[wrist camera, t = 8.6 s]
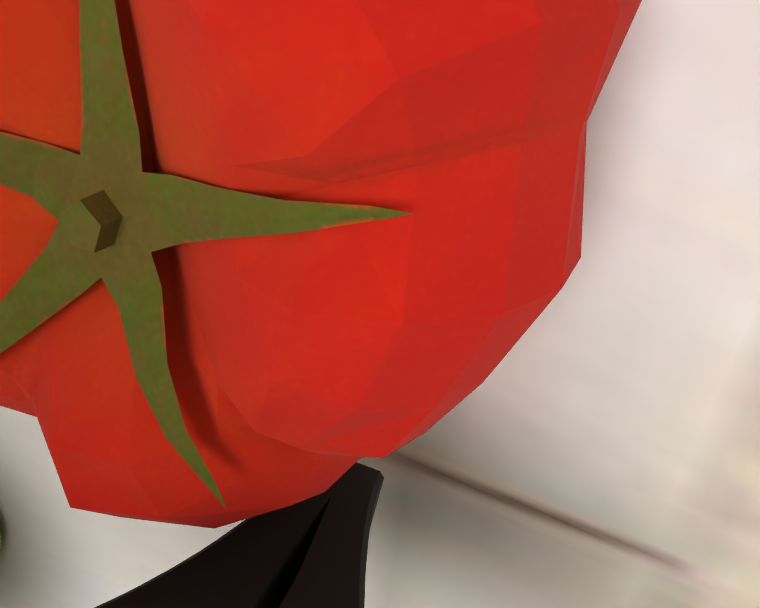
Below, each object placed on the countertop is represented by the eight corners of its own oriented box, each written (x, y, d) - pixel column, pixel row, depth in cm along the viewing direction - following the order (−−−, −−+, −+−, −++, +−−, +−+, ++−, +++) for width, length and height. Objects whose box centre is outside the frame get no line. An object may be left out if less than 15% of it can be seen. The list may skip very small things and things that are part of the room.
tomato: (45, 211, 14) (-303, 343, 9) (180, -396, 9) (-553, -1109, 3) (388, 441, 14) (254, 725, 9) (755, -30, 9) (1066, -100, 3)
